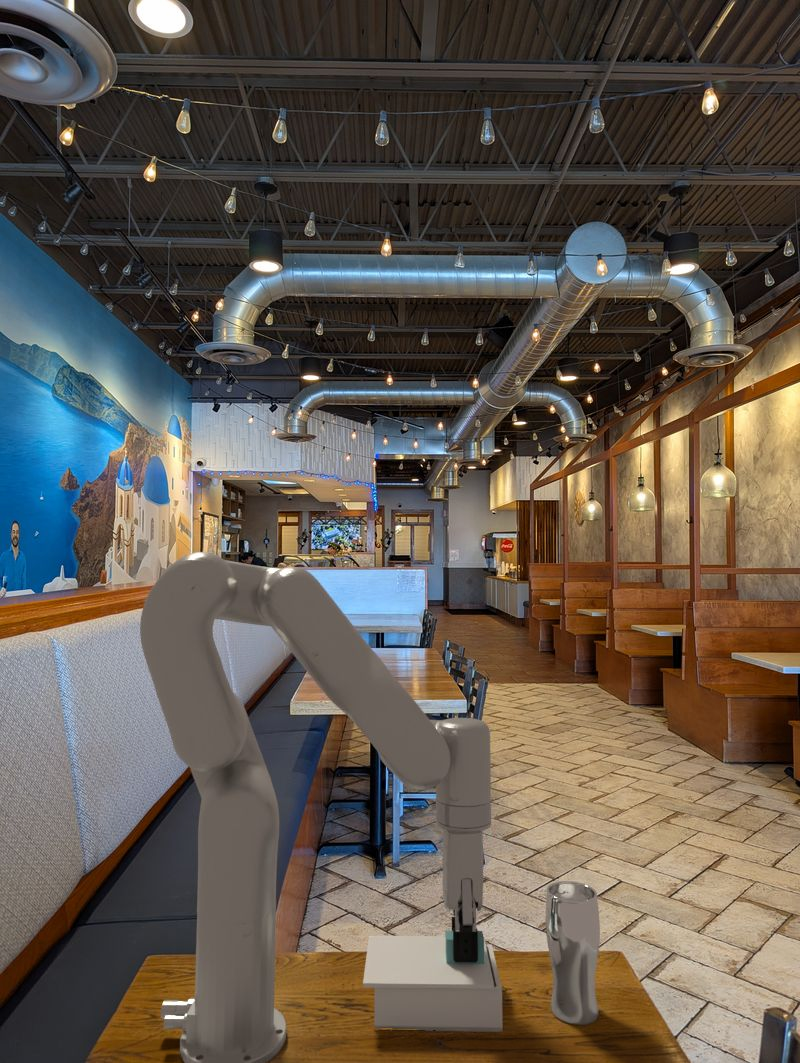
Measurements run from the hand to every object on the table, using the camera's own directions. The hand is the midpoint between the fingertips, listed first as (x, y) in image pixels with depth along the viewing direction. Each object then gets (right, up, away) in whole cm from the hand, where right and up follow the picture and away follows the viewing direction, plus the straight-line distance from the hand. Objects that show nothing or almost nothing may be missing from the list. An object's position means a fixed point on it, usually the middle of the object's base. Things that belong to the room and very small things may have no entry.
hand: (464, 953), depth 90 cm
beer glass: (+14, -7, -2) cm, 16 cm away
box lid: (-5, -1, 0) cm, 5 cm away
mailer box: (-4, -6, -1) cm, 7 cm away
